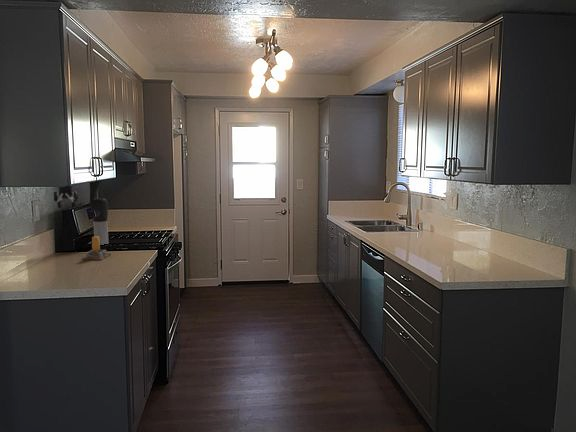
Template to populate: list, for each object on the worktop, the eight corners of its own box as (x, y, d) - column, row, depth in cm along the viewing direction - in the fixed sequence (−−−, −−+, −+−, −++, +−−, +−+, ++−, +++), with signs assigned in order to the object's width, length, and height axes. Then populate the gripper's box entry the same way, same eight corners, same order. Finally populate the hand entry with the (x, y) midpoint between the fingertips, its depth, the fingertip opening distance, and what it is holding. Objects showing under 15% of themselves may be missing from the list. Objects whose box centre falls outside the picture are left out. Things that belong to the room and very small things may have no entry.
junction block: (92, 254, 303) (91, 248, 302) (110, 254, 303) (110, 248, 302) (81, 260, 288) (81, 253, 287) (101, 260, 288) (101, 253, 287)
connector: (94, 255, 297) (93, 236, 296) (101, 255, 297) (100, 236, 296) (91, 256, 293) (90, 237, 291) (98, 256, 293) (97, 237, 291)
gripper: (79, 182, 300) (80, 207, 303) (56, 181, 301) (58, 207, 303) (73, 182, 293) (75, 208, 295) (50, 182, 293) (52, 208, 295)
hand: (66, 207), depth 299 cm, fingers open, 8 cm apart
